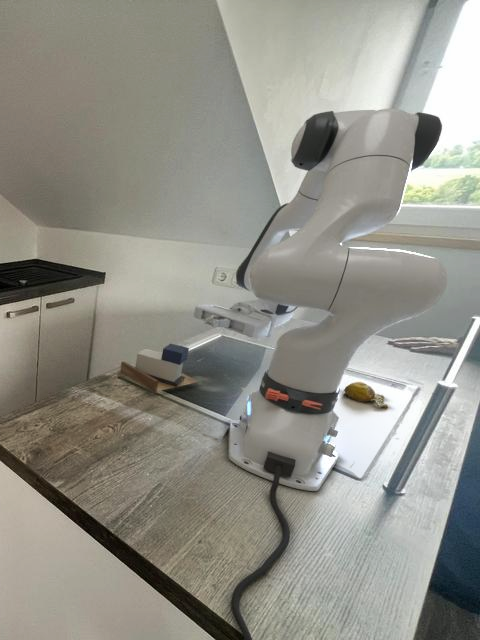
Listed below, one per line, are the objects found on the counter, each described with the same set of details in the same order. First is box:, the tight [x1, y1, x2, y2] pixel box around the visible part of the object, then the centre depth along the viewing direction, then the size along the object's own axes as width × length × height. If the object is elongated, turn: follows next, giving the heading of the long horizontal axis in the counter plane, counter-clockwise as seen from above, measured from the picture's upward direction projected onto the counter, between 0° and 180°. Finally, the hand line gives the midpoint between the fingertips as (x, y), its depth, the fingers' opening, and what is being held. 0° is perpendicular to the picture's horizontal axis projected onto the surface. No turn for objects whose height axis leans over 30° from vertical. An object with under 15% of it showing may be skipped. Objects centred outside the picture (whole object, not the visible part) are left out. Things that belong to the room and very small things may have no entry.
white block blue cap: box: [134, 343, 190, 388], centre depth 103 cm, size 12×6×9 cm, turn 48°
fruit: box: [343, 381, 389, 408], centre depth 96 cm, size 8×8×4 cm
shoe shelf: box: [119, 361, 200, 393], centre depth 105 cm, size 16×13×4 cm
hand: (209, 322), depth 105 cm, fingers closed
